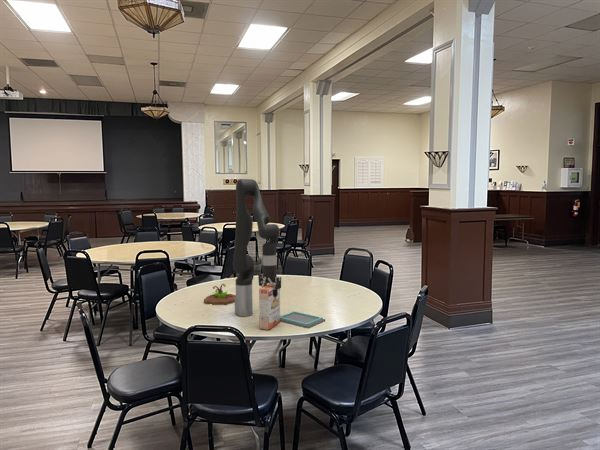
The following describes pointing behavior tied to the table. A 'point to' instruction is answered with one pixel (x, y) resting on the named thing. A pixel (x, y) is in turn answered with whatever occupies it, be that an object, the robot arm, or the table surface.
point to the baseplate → (301, 319)
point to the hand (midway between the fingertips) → (269, 295)
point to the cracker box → (268, 307)
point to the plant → (220, 297)
